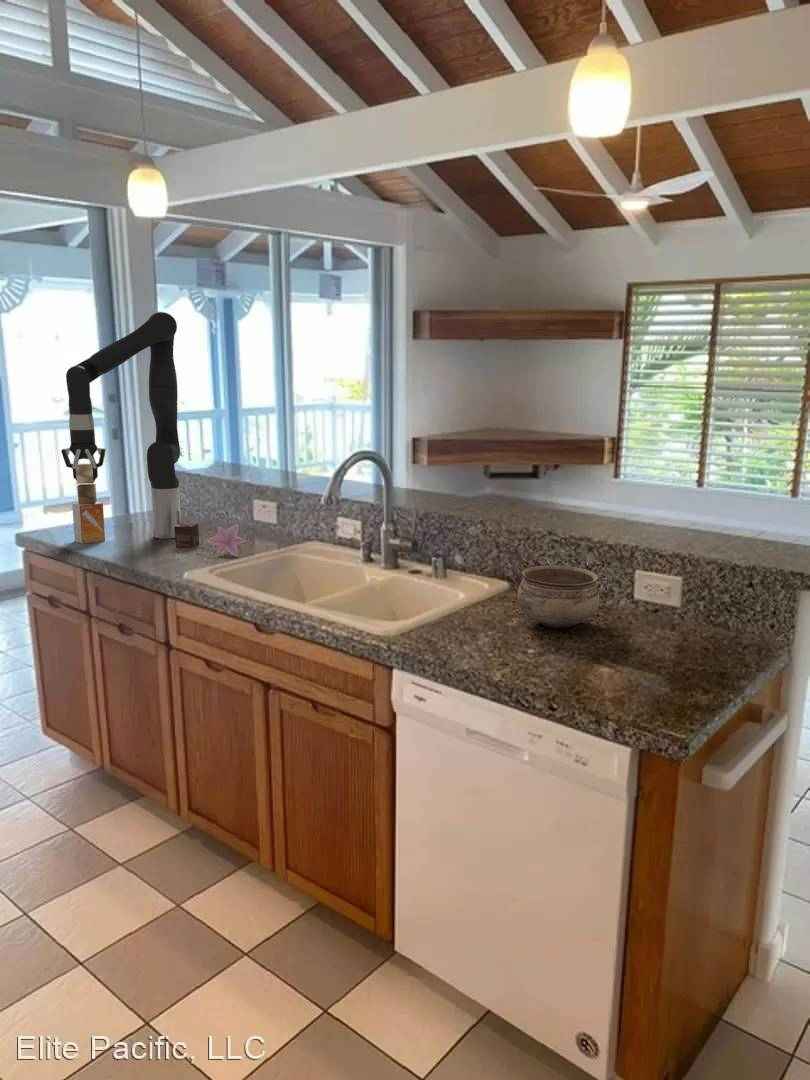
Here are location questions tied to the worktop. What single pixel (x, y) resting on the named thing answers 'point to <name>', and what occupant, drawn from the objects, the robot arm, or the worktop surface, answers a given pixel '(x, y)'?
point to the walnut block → (86, 493)
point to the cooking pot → (558, 595)
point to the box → (186, 535)
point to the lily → (227, 540)
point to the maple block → (84, 474)
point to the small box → (88, 522)
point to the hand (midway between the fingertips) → (85, 479)
